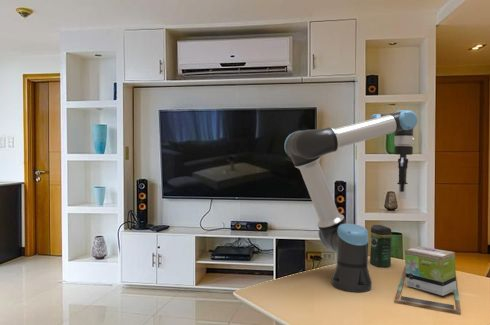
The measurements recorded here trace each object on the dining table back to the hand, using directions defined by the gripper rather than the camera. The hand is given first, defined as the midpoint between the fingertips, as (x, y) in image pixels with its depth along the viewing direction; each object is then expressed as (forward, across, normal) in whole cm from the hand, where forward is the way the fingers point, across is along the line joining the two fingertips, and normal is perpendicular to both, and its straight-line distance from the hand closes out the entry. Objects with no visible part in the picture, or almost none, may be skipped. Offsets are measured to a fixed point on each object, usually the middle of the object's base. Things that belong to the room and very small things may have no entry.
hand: (402, 198), depth 170 cm
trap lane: (+32, -16, -12) cm, 38 cm away
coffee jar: (+33, +6, +9) cm, 34 cm away
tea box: (+32, -20, -13) cm, 40 cm away
